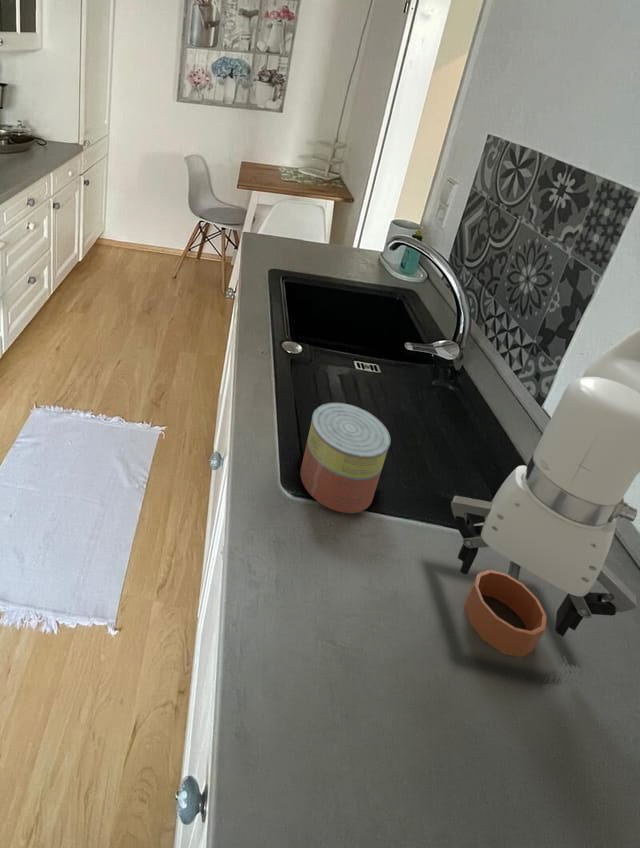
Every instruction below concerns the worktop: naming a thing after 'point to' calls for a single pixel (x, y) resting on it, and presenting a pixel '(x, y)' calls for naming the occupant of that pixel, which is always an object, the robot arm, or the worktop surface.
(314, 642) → the worktop surface
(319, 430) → the canned food
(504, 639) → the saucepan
